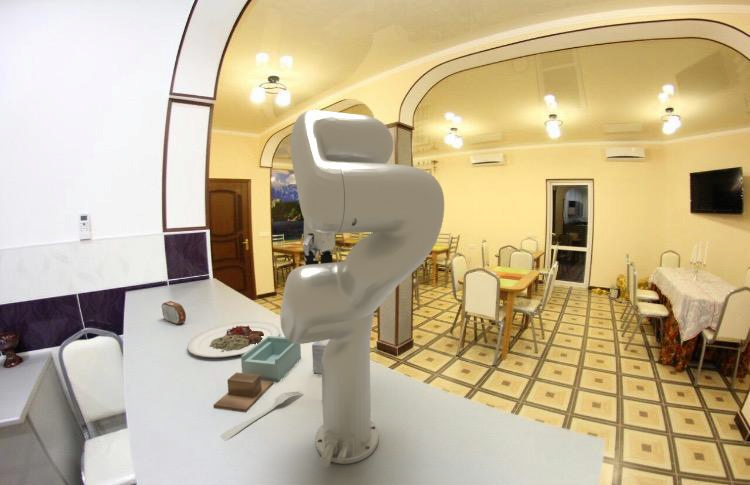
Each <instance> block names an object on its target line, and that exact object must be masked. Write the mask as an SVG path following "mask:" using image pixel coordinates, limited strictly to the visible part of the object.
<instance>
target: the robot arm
mask: <svg viewBox="0 0 750 485" xmlns="http://www.w3.org/2000/svg"><path fill="white" fill-rule="evenodd" d="M393 151H394V138H393V135H392V133H391V131H390V130H389V128H388V127H387V125H386V124H385V123H383V122H382V121H381V120H379V119H378V118H375V117H372V116H370V115H365V114H356V113H347V112H346V113H345V112H337V111H331V110H329V111H327V110H319V109H317V110H315V109H310V110H307V111H304V112H303V113H301V114H300V115H299V116H298V117H297V119H296V120H295V122H294V124H293V126H292V130H291V134H290V159H291V165H292V170H293V174H294V178H295V179H294V180H295V183H296V188H297V196H298V201H299V207H300V210H301V214H302V217H303V243H302V244H301V245H302V249H303V256H304V261H305V262H304V263H305V265H301V266H298V267H295V268H294V269H292V270H291V271H290V272H289V273H288V275H287V277H286V281H285V284H284V289H283V295H282V299H281V300H282V301H281V306H280V307H281V308H280V316H279V319H280V328H281V331H282V333H283V337H285V338H286V339H287V340H288V341H289V342H291V343H293V344H300V345H304V344H309V343H310V344H311V343H314V342H317V341H322V340H328V339H330V340H329V342H328V343H327V345H326V347H325V349H324V352H323V355H322V360H321V370H322V373H321V395H322V396H321V398H322V402H321V403H322V425H320V427H319V428H318V431H316V436H315V447H316V449H317V453H318V454H319V455H320V456H321V457H320V458H319V463H320V465H321V466H322V467H325V468H326V467H329V466H330V465H331V462H333V463H335V464H341V465H342V464H343V465H344V464H345V465H347V464H353V463H354V464H355V463H358V462H360V461H362V460H364V459H366V458H368V457H369V456H370V455H372V453H373V452H374V451H375V450H376V448H377V446H378V445H379V437H380V436H379V430H378V427H377V425H376V424H375V423H374V421H373V420H372V419H371V418H372V417H371V407H372V406H371V339H372V338H371V337H372V330H373V323H374V319H375V318H374V317H375V311H377V309H378V308H379V307H380V306H381V305H382V304H383V303H384V302H385V301H386V300H387V299H388V298H389V296H390V295H391V294H392V293H393V292H394V291H395V289H396V288H397V287H398V286H399V285H400V284H401V283H402V282H404V280H405V279H407V278H408V277H409V276H411V275H412V273H414V272H415V271H416V270H417V269H418V268H419V267H420V266H421V265H422V264H423V262H424V261H425V260H426V259H427V258H428V257H429V255H430V253H431V252H432V250H433V249H434V247H435V245H436V243H437V241H438V238H439V236H440V233H441V229H442V227H443V226H442V225H443V222H444V214H445V196H444V190H443V188H442V186H441V184H440V181H439V180H438V179H436V177H435V176H434V175H432V174H431V173H429V172H428V171H426V170H424V169H421V168H418V167H415V166H410V165H405V164H395V163H388V162H389V161H390V159H391V157H392V154H393V153H394V152H393ZM361 233H370V234H368V235H366V236H364V237H362V239H360V240H359V241H357V243H355V244H354V245H353V246H352V247H351V248H350V250H349V251H348V253H347V254H346V256H345V260H343V261H342V260H341V261H338V262H337V261H336V262H333V261H334V260H333V252H334V250H333V249H334V248H335V246H336V235H337V234H361ZM320 252H321V254H320ZM319 254H320V262H319V260H318V258H319Z"/></svg>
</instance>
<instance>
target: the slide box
mask: <svg viewBox="0 0 750 485" xmlns="http://www.w3.org/2000/svg"><path fill="white" fill-rule="evenodd" d="M301 346H302V345H301V344H293V343H291V342H289V341H288V340H287V339H286V338H285V336H279V337H277V336H267V337H266V338H265V339H263V340H262V341H261V342H259V343H258V344H257V345H255V346H254V347H253V348H251V349H250V350H249V351H247V352H246V353H244V354H241V355H240V360H241V373H246V374H255V375H261V380H265V381H273V383H274V382H275V383H279V382H280V381H281V380H282V379H283V378H284V377H285V376H286V375H287V374H288V372H289V371H291V369H292V368H293V367H294V366H295V365H296V364H297V363H298V362H299V361H300V360H301V358H302V354H301V353H302V351H301V348H302V347H301Z"/></svg>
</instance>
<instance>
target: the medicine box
mask: <svg viewBox="0 0 750 485" xmlns="http://www.w3.org/2000/svg"><path fill="white" fill-rule="evenodd" d="M329 340H330V339H328V340H322V341H317V342H313V343H312V344H311V355H312V356H311V357H312V372H313V374H322V370H321V360H322V355H323V352H324V349H325V347H326V345H327V343H328V342H329Z"/></svg>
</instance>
